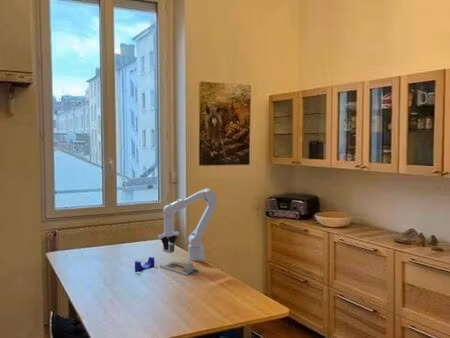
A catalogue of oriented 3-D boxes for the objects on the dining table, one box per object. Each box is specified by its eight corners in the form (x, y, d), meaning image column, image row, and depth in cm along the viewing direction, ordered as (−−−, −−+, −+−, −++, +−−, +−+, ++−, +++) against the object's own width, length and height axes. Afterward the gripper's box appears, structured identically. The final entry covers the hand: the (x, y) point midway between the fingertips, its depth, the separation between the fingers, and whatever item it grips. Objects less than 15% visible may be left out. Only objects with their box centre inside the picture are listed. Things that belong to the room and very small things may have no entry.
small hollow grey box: (188, 270, 252) (188, 261, 252) (192, 271, 250) (192, 262, 250) (183, 272, 250) (183, 262, 249) (187, 273, 248) (187, 264, 247)
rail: (173, 266, 266) (173, 261, 266) (200, 274, 251) (200, 269, 251) (159, 269, 258) (159, 265, 258) (186, 278, 244) (186, 273, 243)
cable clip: (148, 266, 265) (148, 256, 264) (154, 268, 262) (154, 257, 262) (133, 271, 255) (132, 261, 254) (138, 273, 252) (138, 262, 252)
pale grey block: (167, 250, 274) (167, 242, 274) (174, 252, 270) (174, 243, 269) (163, 251, 271) (163, 243, 271) (170, 253, 267) (170, 244, 267)
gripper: (173, 223, 277) (173, 245, 279) (154, 226, 267) (154, 250, 268) (181, 225, 273) (181, 247, 274) (162, 228, 262) (162, 252, 263)
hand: (168, 249), depth 270 cm, fingers closed on pale grey block, 3 cm apart
